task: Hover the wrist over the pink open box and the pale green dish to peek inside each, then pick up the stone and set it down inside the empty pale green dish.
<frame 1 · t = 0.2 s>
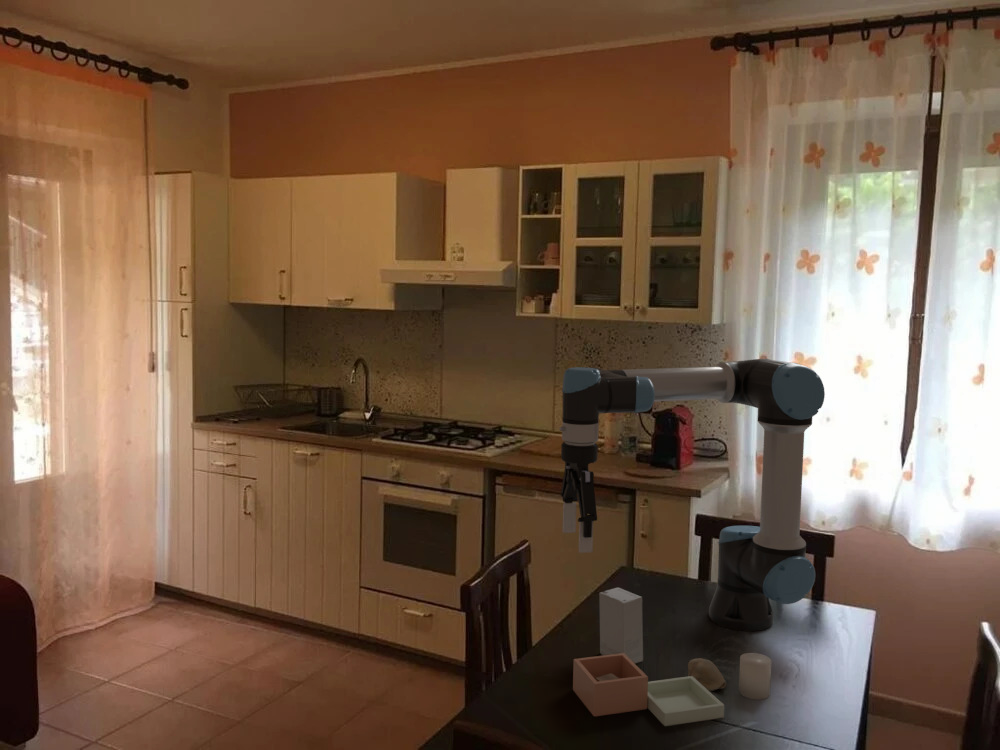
hand: (576, 541, 181), 28 cm above the table, fingers open, 13 cm apart
skincare box: (620, 660, 188), on the table
green dish: (678, 708, 167), on the table
stone: (704, 685, 177), on the table
pink open box: (609, 701, 169), on the table
beige rounded capsule: (754, 692, 174), on the table
walnut block: (609, 698, 169), point 1 cm above the table, touching pink open box
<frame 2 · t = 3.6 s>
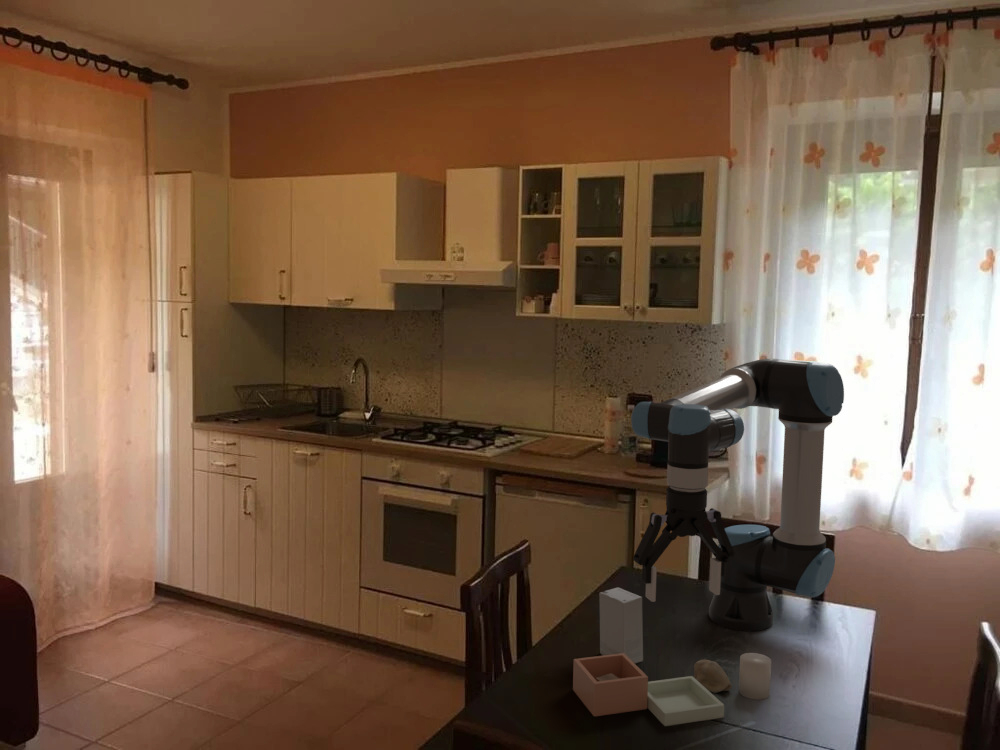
hand: (682, 595, 164), 23 cm above the table, fingers open, 13 cm apart
stone: (709, 687, 177), on the table
everything else where it was.
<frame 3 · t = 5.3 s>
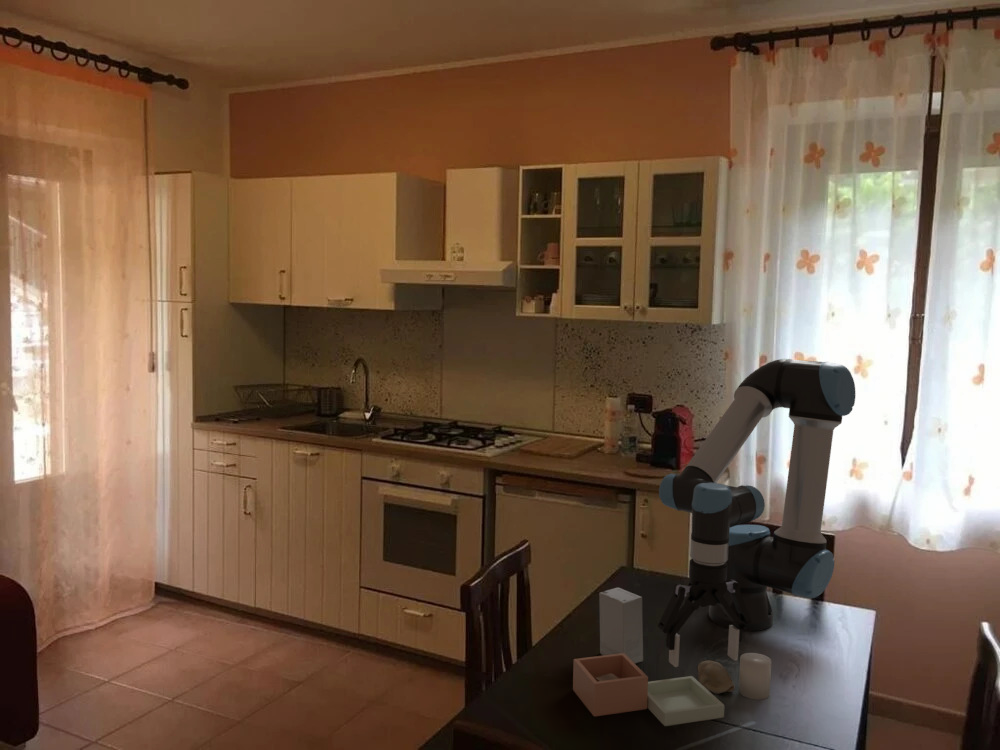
hand: (703, 661, 176), 5 cm above the table, fingers open, 13 cm apart
nothing on the table moved.
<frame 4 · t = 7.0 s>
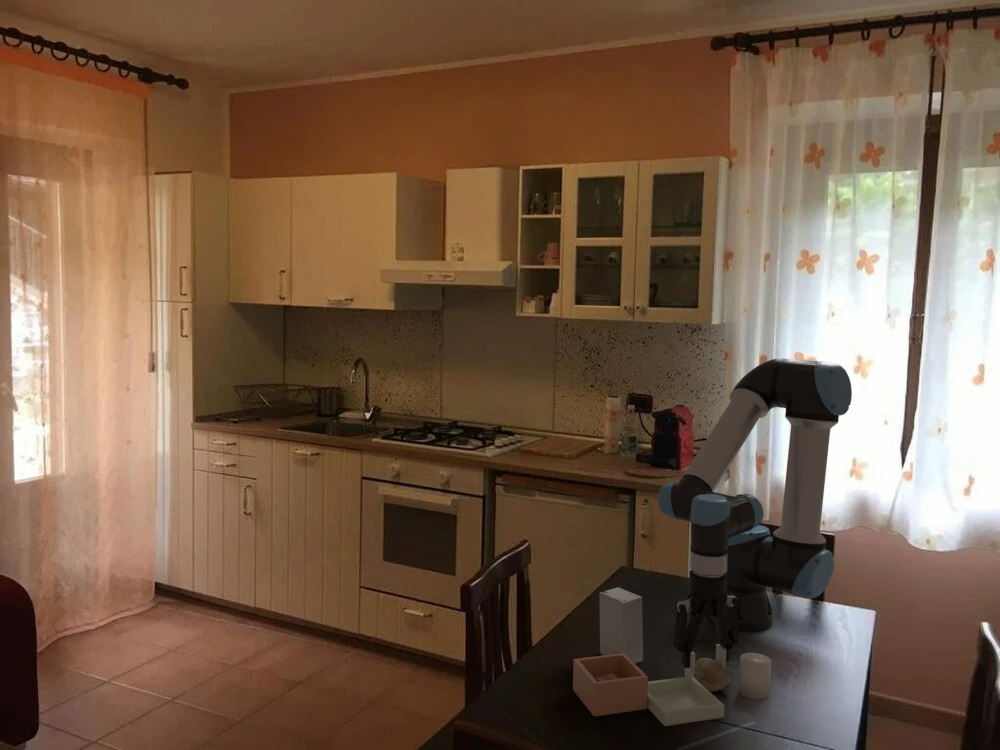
hand: (704, 678, 177), 1 cm above the table, fingers closed on stone, 6 cm apart
stone: (710, 685, 175), on the table, touching gripper
everything else where it was.
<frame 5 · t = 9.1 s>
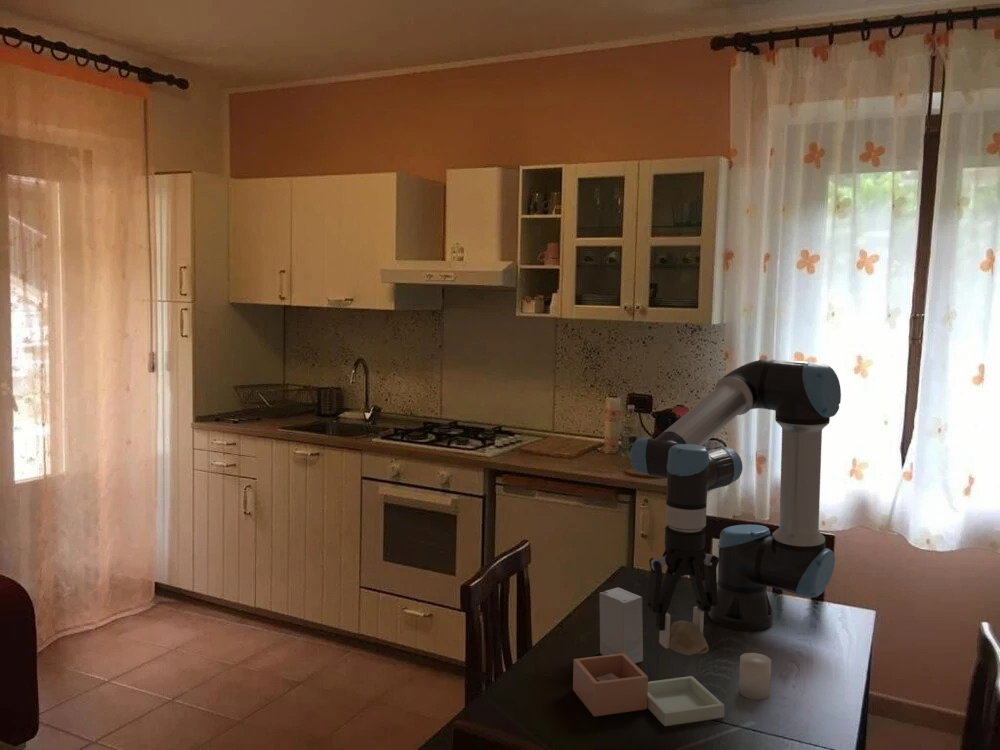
hand: (680, 643, 165), 13 cm above the table, fingers closed on stone, 6 cm apart
stone: (686, 649, 163), point 13 cm above the table, touching gripper
everything else where it was.
when the fingers open (3 cm above the table, at t = 11.0 s): stone drops 1 cm, resting on green dish.
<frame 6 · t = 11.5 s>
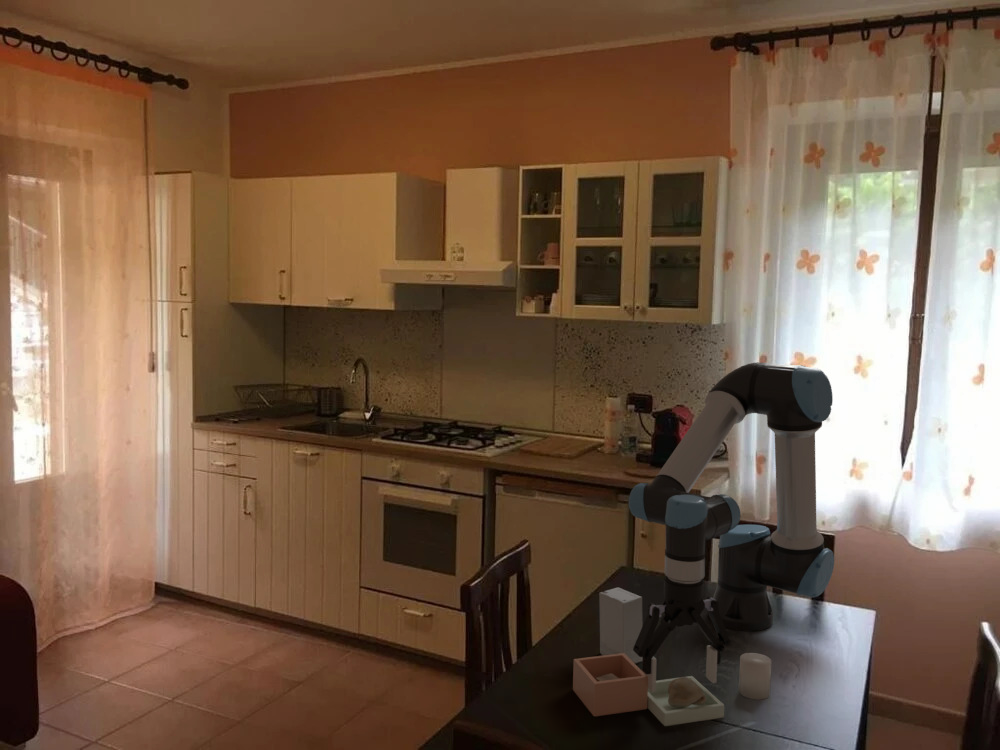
hand: (681, 684, 166), 5 cm above the table, fingers open, 12 cm apart
stone: (685, 705, 165), point 2 cm above the table, touching green dish
everything else where it was.
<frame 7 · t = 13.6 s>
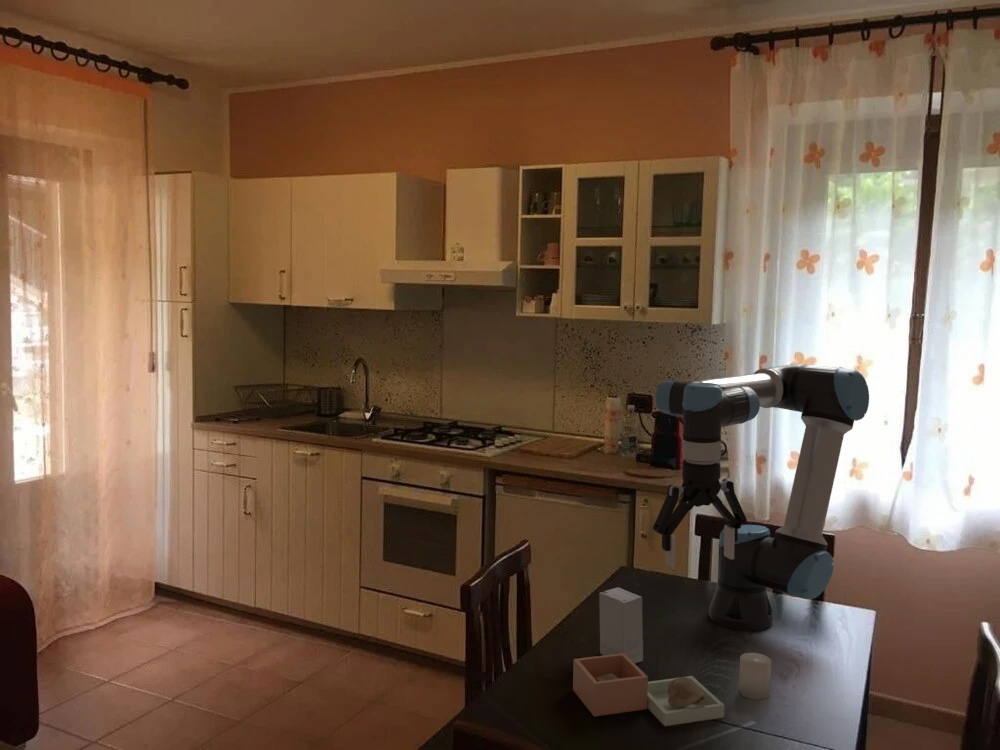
hand: (699, 561, 176), 25 cm above the table, fingers open, 13 cm apart
nothing on the table moved.
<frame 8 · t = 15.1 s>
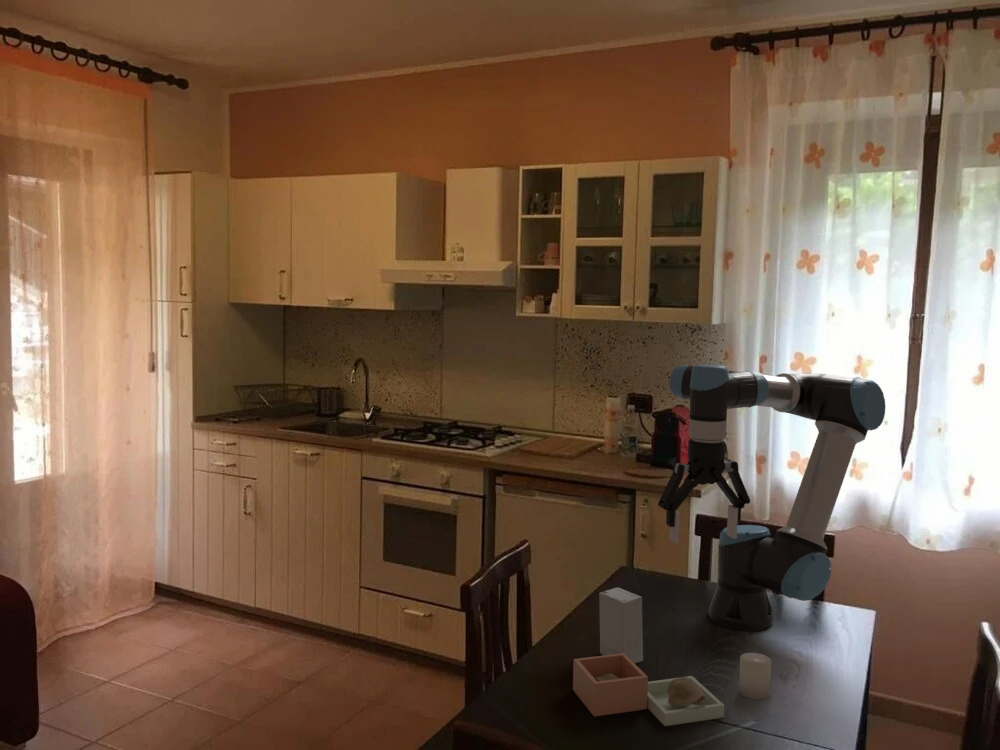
hand: (703, 539, 180), 29 cm above the table, fingers open, 13 cm apart
nothing on the table moved.
at the end: stone inside the target area on the green dish (2.3 cm from its centre), point 1.7 cm above the green dish's base; the gripper is holding nothing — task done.
